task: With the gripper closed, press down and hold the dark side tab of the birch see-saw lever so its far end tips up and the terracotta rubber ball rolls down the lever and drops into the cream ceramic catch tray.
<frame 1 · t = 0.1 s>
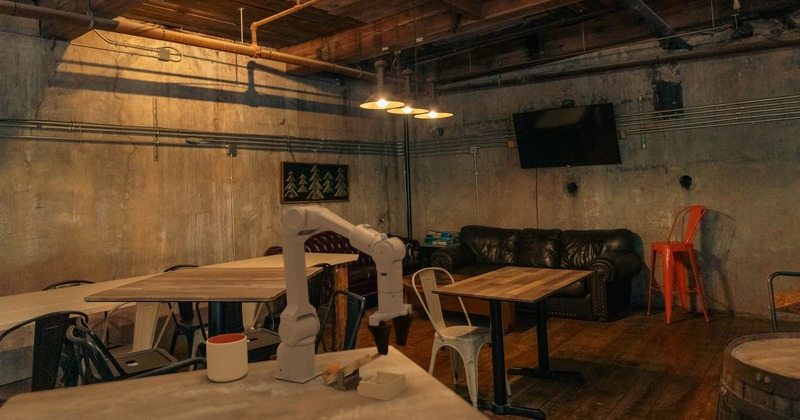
hand: (392, 349, 116), 10 cm above the table, fingers open, 7 cm apart
ball: (334, 369, 125), point 3 cm above the table, touching catapult lever
cup: (228, 377, 132), on the table
pivot bracket: (348, 385, 123), on the table
tray: (382, 391, 118), on the table
catapult lever: (352, 364, 125), point 4 cm above the table, hinge at -30.0°, touching ball
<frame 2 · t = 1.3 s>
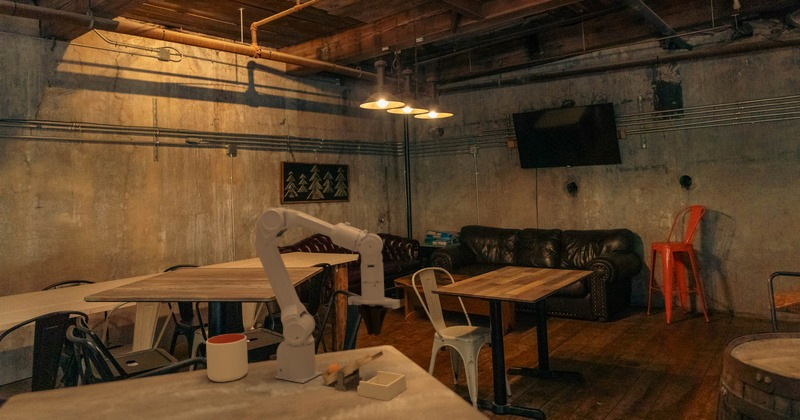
hand: (374, 334, 129), 10 cm above the table, fingers closed
nothing on the table moved.
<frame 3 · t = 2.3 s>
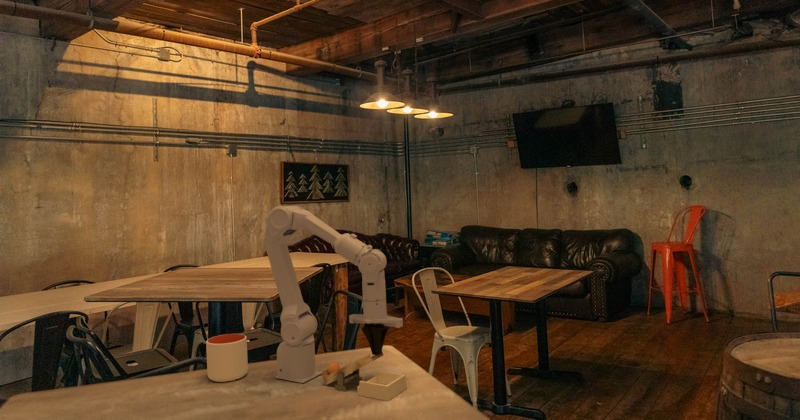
hand: (376, 353, 126), 7 cm above the table, fingers closed
catapult lever: (352, 364, 125), point 4 cm above the table, hinge at -28.5°, touching ball, gripper
everything else where it was.
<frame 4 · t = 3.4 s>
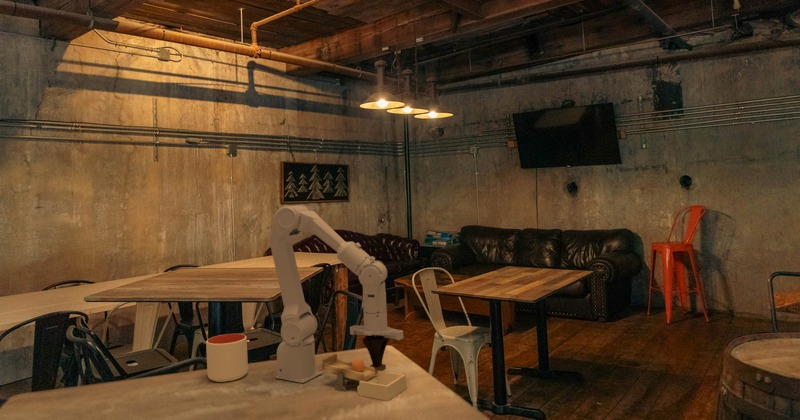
hand: (377, 365, 126), 4 cm above the table, fingers closed, pressing on catapult lever
ball: (357, 365, 121), point 5 cm above the table, tilted 68°, touching catapult lever
catapult lever: (354, 364, 125), point 4 cm above the table, hinge at 4.1°, touching ball, gripper
everything else where it was.
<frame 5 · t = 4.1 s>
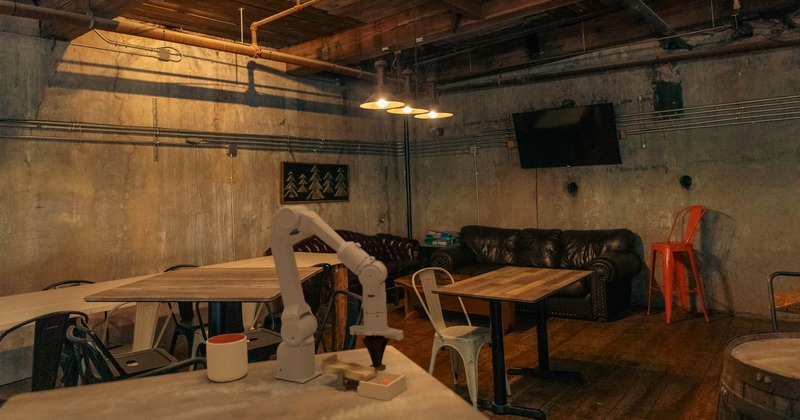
hand: (377, 365, 126), 4 cm above the table, fingers closed, pressing on catapult lever
ball: (387, 385, 117), point 2 cm above the table, tilted 93°, touching tray
catapult lever: (354, 364, 125), point 4 cm above the table, hinge at 4.3°, touching gripper
everything else where it was.
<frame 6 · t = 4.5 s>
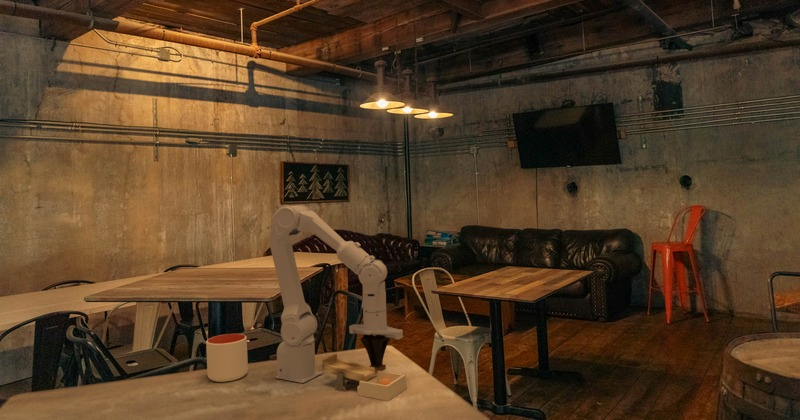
hand: (376, 364, 126), 4 cm above the table, fingers closed
ball: (385, 385, 117), point 2 cm above the table, tilted 112°, touching tray
catapult lever: (354, 364, 125), point 4 cm above the table, hinge at 4.3°
everything else where it was.
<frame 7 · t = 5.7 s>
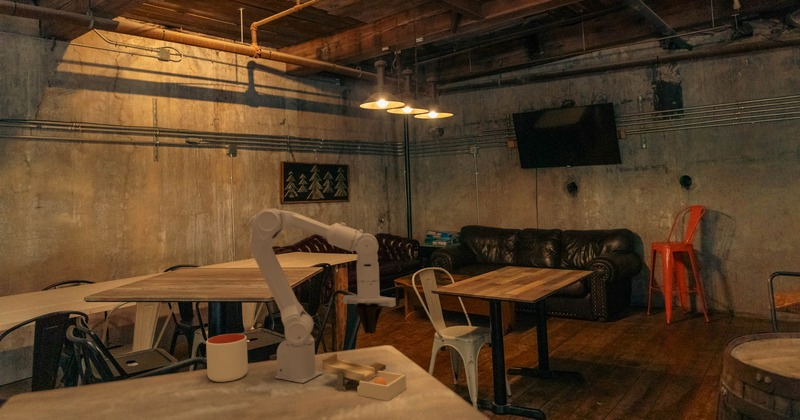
hand: (370, 332, 131), 10 cm above the table, fingers closed
ball: (379, 384, 118), point 2 cm above the table, tilted 169°, touching tray
everything else where it was.
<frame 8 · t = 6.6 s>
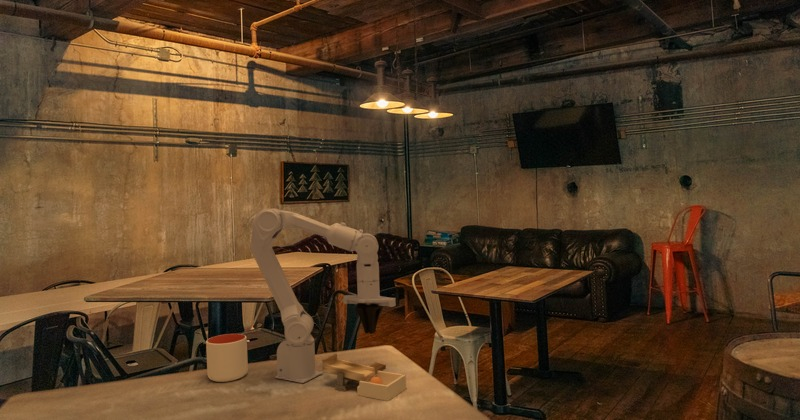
hand: (370, 332, 131), 10 cm above the table, fingers closed
ball: (375, 383, 119), point 2 cm above the table, tilted 148°, touching tray
everything else where it was.
at the end: ball inside the target area on the tray (1.9 cm from its centre), point 1.7 cm above the tray's base; ball touching tray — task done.
